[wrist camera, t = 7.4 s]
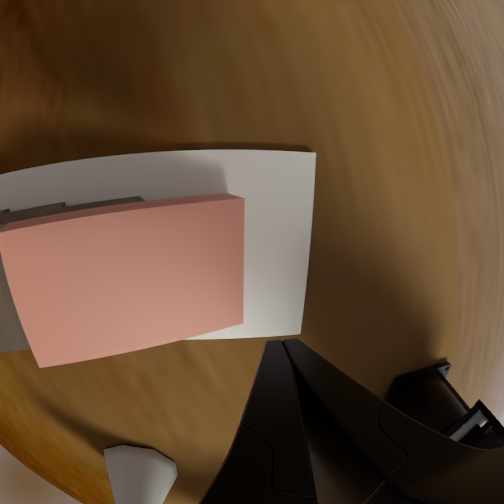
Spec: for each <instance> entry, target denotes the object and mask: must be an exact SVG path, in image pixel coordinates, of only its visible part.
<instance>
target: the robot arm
mask: <svg viewBox="0 0 504 504" xmlns="http://www.w3.org/2000/svg"><path fill="white" fill-rule="evenodd" d="M450 368H451V364H450V363H449V362H445V363H442V364H439V365H436V366H433V367H430V368H427V369H423V370H420V371H416V372H413V373H409V374H406V375H402V376H399V377H397V378H396V379H395V380H394V382H393V384H392V387H391V389H390V391H389V393H388V396H387V398H386V400H385V401H383V402H382V399H381V398H379V397H378V396H376V395H375V394H373V393H372V392H370V391H369V390H368V389H366V388H365V387H363V386H362V385H360V384H359V383H358V382H356V381H355V380H353V379H352V378H351V377H349V376H348V375H346V374H345V373H344V372H342V371H341V370H339V369H338V368H337V367H335V366H334V365H332V364H331V363H330V362H328V361H327V360H326V359H324V358H323V357H321V356H320V355H319V354H317V353H316V352H315V351H313V350H312V349H311V348H309V347H308V346H306V345H305V344H304V343H302V342H301V341H300V340H298V339H297V338H290V339H283V340H282V341H281V340H279V339H278V340H267V341H266V343H265V346H264V350H263V353H262V356H261V359H260V363H259V366H258V369H257V372H256V375H255V378H254V381H253V385H252V388H251V391H250V394H249V397H248V400H247V403H246V406H245V409H244V412H243V415H242V418H241V421H240V425H239V426H238V429H237V432H236V435H235V437H234V440H233V442H232V445H231V447H230V450H229V452H228V454H227V456H226V458H225V460H224V462H223V464H222V466H221V468H220V470H219V472H218V473H217V475H216V477H215V478H214V480H213V482H212V483H211V485H210V487H209V488H208V490H207V492H206V493H205V495H204V496H203V498H202V500H201V501H200V503H199V504H504V427H503V426H502V425H501V423H500V422H499V421H498V420H497V419H496V418H495V416H494V415H493V414H492V413H491V412H490V411H489V410H488V408H487V407H486V406H485V405H484V404H483V403H482V402H481V401H480V399H479V400H478V401H477V402H476V403H475V405H474V406H473V407H472V408H471V409H470V408H469V407H468V405H467V404H466V403H465V402H464V400H463V399H462V398H461V397H460V395H459V394H458V393H457V392H456V390H455V389H454V388H453V387H452V386H451V384H450V383H449V382H448V381H447V380H446V376H447V374H448V372H449V370H450ZM484 421H486V424H485V425H483V426H482V427H480V426H479V425H480V424H482V423H483V422H484Z"/></svg>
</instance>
